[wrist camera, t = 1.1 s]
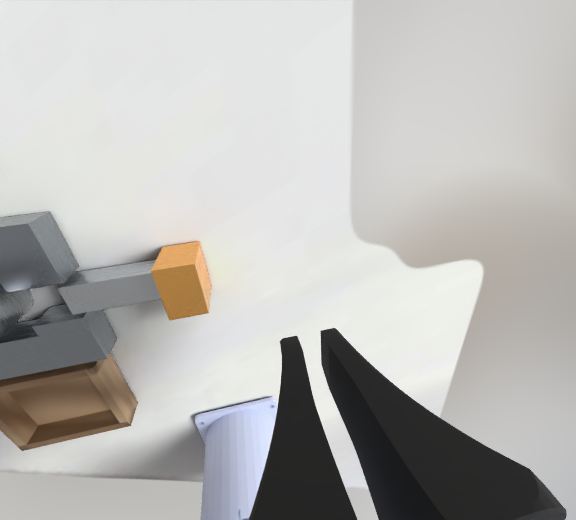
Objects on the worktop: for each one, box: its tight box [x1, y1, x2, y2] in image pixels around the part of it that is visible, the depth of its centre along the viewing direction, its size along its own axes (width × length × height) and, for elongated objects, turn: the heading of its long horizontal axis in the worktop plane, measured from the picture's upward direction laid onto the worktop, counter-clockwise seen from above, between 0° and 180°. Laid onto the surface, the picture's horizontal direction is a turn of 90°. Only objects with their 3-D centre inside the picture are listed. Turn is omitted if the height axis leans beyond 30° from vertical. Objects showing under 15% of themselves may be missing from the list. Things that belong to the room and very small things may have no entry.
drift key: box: [57, 241, 211, 320], centre depth 17 cm, size 8×4×3 cm, turn 94°
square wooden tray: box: [0, 354, 138, 451], centre depth 21 cm, size 7×8×2 cm
